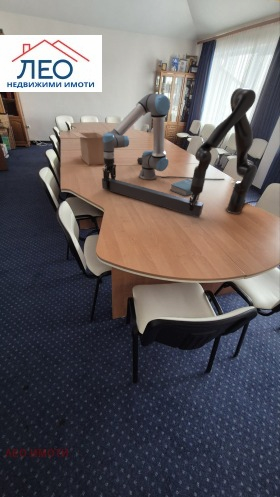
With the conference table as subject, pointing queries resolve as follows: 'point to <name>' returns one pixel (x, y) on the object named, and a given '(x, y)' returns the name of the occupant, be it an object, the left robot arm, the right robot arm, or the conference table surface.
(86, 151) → the box
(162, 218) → the conference table surface
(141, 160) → the laser sight
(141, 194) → the post
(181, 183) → the book
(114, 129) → the left robot arm
